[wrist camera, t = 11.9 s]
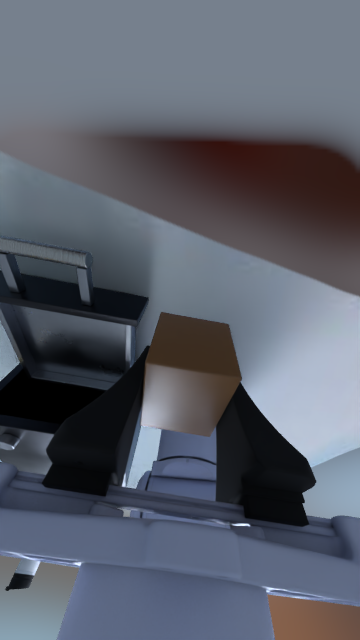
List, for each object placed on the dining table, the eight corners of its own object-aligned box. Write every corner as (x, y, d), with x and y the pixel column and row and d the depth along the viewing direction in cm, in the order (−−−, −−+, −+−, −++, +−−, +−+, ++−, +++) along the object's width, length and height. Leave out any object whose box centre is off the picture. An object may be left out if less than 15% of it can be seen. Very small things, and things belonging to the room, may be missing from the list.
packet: (229, 323, 12) (242, 379, 9) (207, 380, 16) (210, 437, 12) (160, 311, 12) (144, 361, 8) (153, 371, 15) (139, 426, 12)
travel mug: (49, 501, 73) (6, 591, 56) (65, 505, 75) (28, 593, 58) (45, 504, 76) (3, 589, 59) (61, 507, 78) (25, 592, 61)
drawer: (152, 252, 16) (139, 267, 12) (142, 381, 26) (133, 410, 22) (-25, 218, 16) (-89, 225, 12) (34, 363, 26) (8, 389, 22)
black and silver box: (146, 372, 25) (122, 455, 17) (141, 423, 33) (123, 496, 25) (30, 352, 25) (-50, 427, 17) (53, 408, 33) (5, 478, 25)
